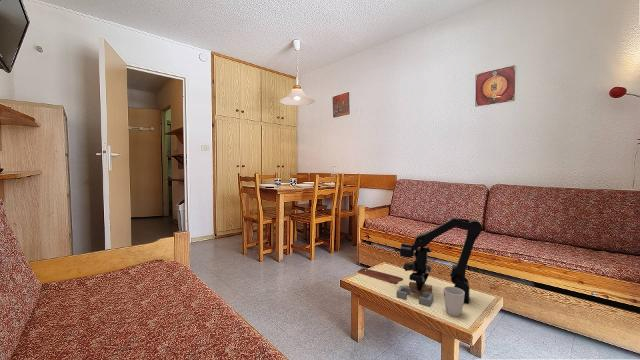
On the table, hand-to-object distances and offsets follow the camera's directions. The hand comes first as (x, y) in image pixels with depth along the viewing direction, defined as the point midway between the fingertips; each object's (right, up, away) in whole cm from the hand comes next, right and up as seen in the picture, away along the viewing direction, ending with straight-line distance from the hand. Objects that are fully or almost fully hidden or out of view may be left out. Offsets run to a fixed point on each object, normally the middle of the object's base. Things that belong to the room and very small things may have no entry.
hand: (420, 289), depth 137 cm
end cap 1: (-10, -1, -5) cm, 11 cm away
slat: (0, -1, 0) cm, 1 cm away
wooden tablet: (-17, -1, +20) cm, 26 cm away
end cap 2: (-2, -1, -11) cm, 11 cm away
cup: (+7, -2, -21) cm, 22 cm away
